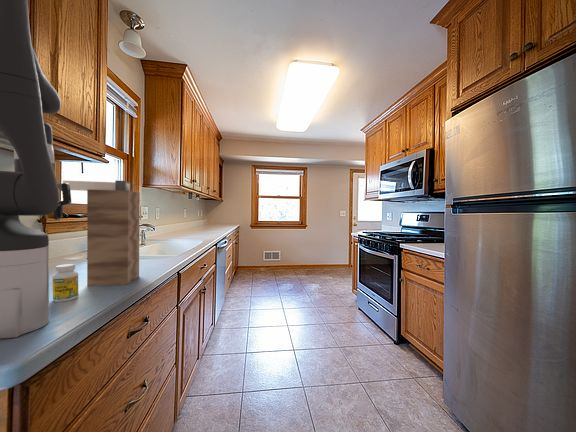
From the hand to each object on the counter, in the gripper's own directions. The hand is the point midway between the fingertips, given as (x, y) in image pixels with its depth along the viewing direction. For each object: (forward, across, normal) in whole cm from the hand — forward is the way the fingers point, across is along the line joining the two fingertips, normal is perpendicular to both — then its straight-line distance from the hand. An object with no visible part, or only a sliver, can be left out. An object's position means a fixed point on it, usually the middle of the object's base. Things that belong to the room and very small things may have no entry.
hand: (36, 219), depth 67 cm
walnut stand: (+23, +16, +12) cm, 31 cm away
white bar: (-9, +11, +15) cm, 21 cm away
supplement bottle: (+23, +6, -3) cm, 24 cm away
